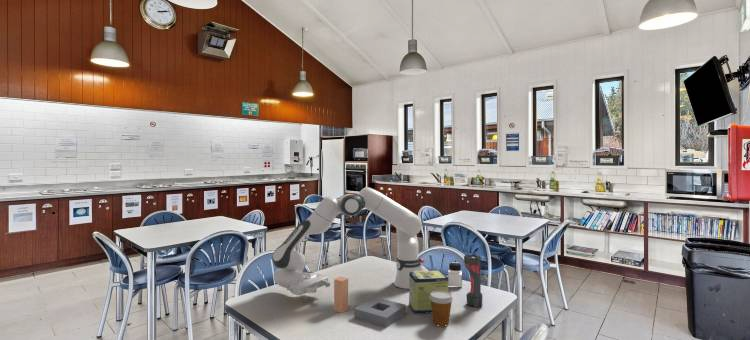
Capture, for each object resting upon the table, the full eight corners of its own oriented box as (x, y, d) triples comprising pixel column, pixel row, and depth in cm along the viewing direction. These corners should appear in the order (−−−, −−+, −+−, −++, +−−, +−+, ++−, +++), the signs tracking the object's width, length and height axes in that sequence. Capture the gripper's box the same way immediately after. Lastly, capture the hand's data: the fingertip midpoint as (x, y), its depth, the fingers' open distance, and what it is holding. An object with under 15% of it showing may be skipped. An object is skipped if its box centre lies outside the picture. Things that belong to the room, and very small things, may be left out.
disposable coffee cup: (426, 318, 158) (427, 290, 157) (448, 318, 158) (449, 290, 158) (432, 329, 148) (432, 299, 148) (455, 328, 149) (456, 298, 149)
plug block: (340, 307, 169) (340, 276, 169) (348, 309, 167) (348, 278, 166) (334, 310, 165) (334, 279, 165) (341, 312, 163) (342, 281, 163)
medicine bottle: (461, 288, 195) (462, 265, 194) (447, 287, 196) (448, 264, 196) (461, 283, 202) (461, 261, 201) (448, 282, 203) (448, 260, 203)
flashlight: (461, 301, 177) (461, 253, 176) (477, 301, 178) (477, 253, 177) (466, 308, 169) (467, 257, 168) (483, 307, 170) (484, 257, 169)
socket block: (375, 305, 171) (375, 296, 171) (406, 313, 162) (406, 304, 162) (354, 317, 158) (354, 308, 158) (386, 327, 149) (386, 317, 149)
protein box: (448, 312, 165) (449, 277, 164) (414, 314, 162) (414, 278, 162) (440, 303, 175) (441, 270, 174) (408, 304, 172) (408, 271, 172)
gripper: (284, 281, 171) (306, 287, 163) (315, 270, 188) (336, 275, 180) (284, 295, 171) (306, 301, 164) (315, 282, 188) (336, 288, 181)
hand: (322, 287), depth 172 cm, fingers open, 8 cm apart
